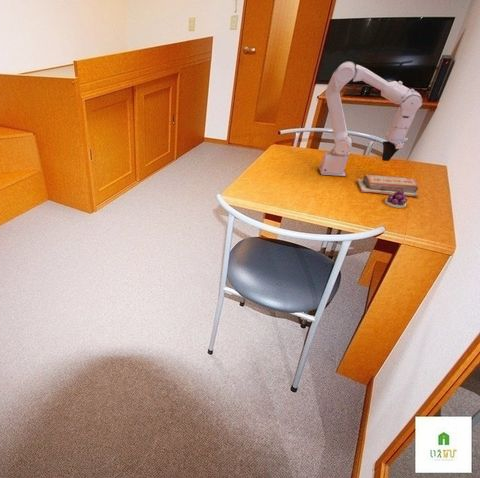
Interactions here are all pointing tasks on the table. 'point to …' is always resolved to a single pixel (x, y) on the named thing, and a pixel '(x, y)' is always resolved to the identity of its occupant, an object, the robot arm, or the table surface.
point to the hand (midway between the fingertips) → (385, 160)
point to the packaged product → (388, 185)
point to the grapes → (397, 199)
